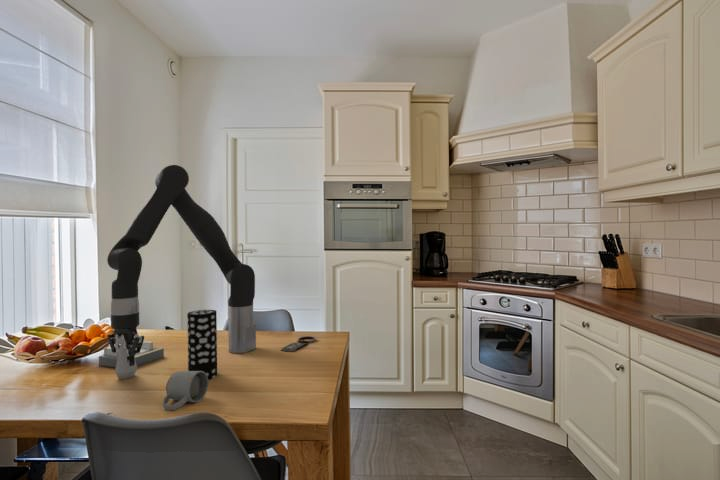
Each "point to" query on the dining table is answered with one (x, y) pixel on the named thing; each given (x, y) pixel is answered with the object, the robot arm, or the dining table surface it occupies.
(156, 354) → the dock
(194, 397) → the ceramic mug
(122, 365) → the salt shaker
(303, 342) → the keychain
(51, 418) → the dining table surface
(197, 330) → the spotted tube
